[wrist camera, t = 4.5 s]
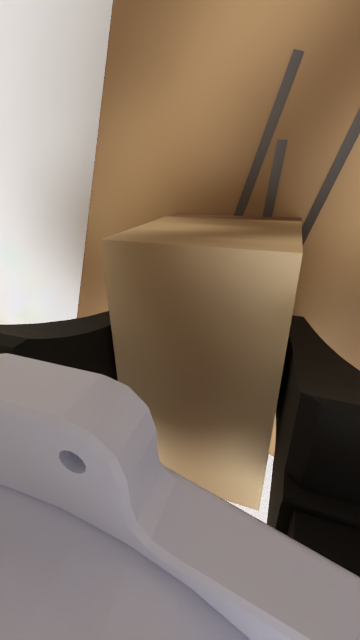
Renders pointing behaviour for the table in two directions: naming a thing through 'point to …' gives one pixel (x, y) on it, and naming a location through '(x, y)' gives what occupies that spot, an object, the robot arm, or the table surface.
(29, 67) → the table surface
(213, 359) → the block
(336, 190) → the oak board
